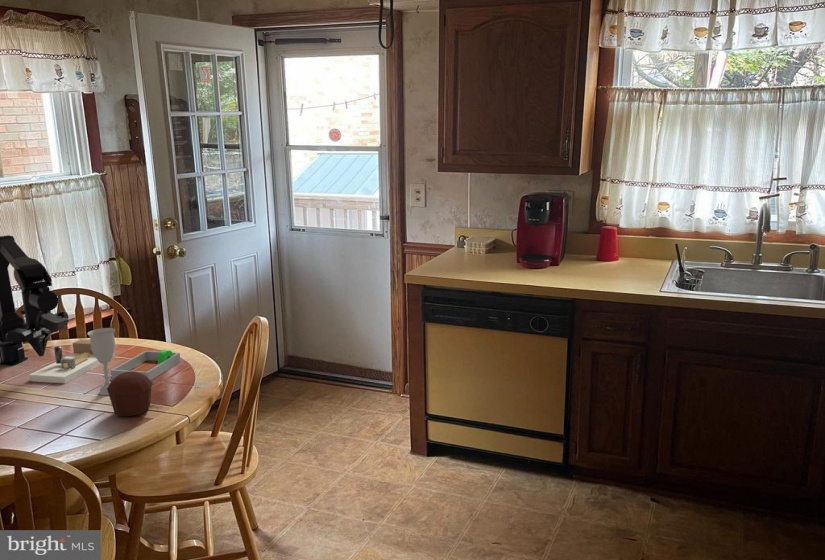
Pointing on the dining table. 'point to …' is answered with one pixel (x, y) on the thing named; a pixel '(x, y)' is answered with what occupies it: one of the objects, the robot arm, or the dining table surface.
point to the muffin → (130, 393)
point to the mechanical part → (164, 356)
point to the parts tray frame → (143, 357)
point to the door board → (64, 375)
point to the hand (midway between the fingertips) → (41, 356)
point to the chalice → (103, 351)
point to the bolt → (77, 359)
